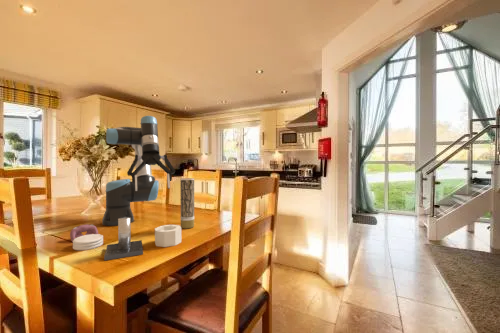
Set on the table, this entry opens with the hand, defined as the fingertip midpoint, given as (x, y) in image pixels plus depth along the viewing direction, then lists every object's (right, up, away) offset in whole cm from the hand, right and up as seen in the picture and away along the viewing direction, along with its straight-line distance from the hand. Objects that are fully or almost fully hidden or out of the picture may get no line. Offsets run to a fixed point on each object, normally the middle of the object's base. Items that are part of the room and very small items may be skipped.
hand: (153, 189), depth 105 cm
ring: (+9, -22, -7) cm, 25 cm away
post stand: (-3, -22, -17) cm, 28 cm away
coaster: (-21, -22, -12) cm, 33 cm away
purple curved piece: (-29, -22, -3) cm, 36 cm away
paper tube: (+11, -21, +15) cm, 28 cm away
